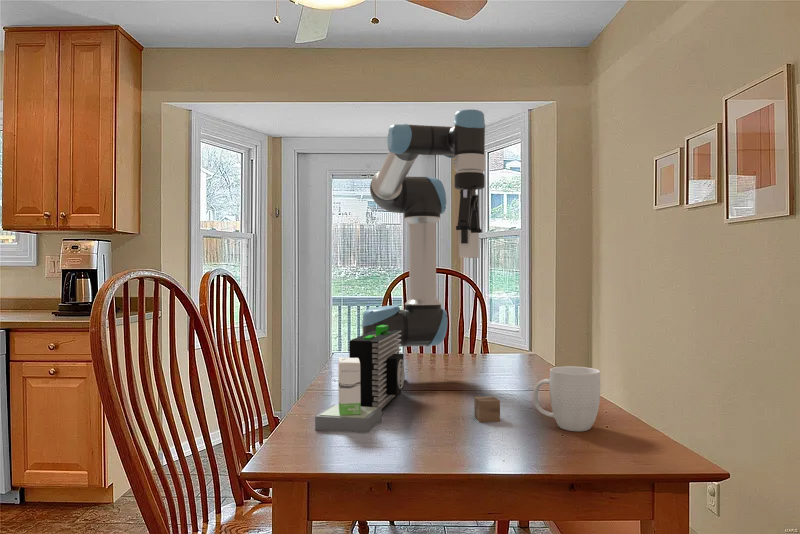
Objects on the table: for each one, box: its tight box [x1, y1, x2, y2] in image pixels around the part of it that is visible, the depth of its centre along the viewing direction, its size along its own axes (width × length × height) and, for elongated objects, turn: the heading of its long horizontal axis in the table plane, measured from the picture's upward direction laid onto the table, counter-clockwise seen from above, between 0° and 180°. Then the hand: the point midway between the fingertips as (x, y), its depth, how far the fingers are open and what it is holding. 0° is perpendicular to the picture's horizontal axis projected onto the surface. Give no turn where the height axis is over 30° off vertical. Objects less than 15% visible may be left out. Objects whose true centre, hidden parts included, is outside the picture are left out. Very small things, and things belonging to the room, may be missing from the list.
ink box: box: [337, 357, 361, 415], centre depth 149 cm, size 9×5×12 cm, turn 7°
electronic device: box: [348, 325, 405, 413], centre depth 172 cm, size 28×11×20 cm, turn 169°
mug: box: [532, 365, 601, 432], centre depth 148 cm, size 15×11×13 cm
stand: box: [314, 404, 383, 434], centre depth 150 cm, size 12×12×3 cm
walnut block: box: [473, 396, 501, 423], centre depth 155 cm, size 5×5×5 cm
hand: (469, 257), depth 164 cm, fingers open, 13 cm apart
